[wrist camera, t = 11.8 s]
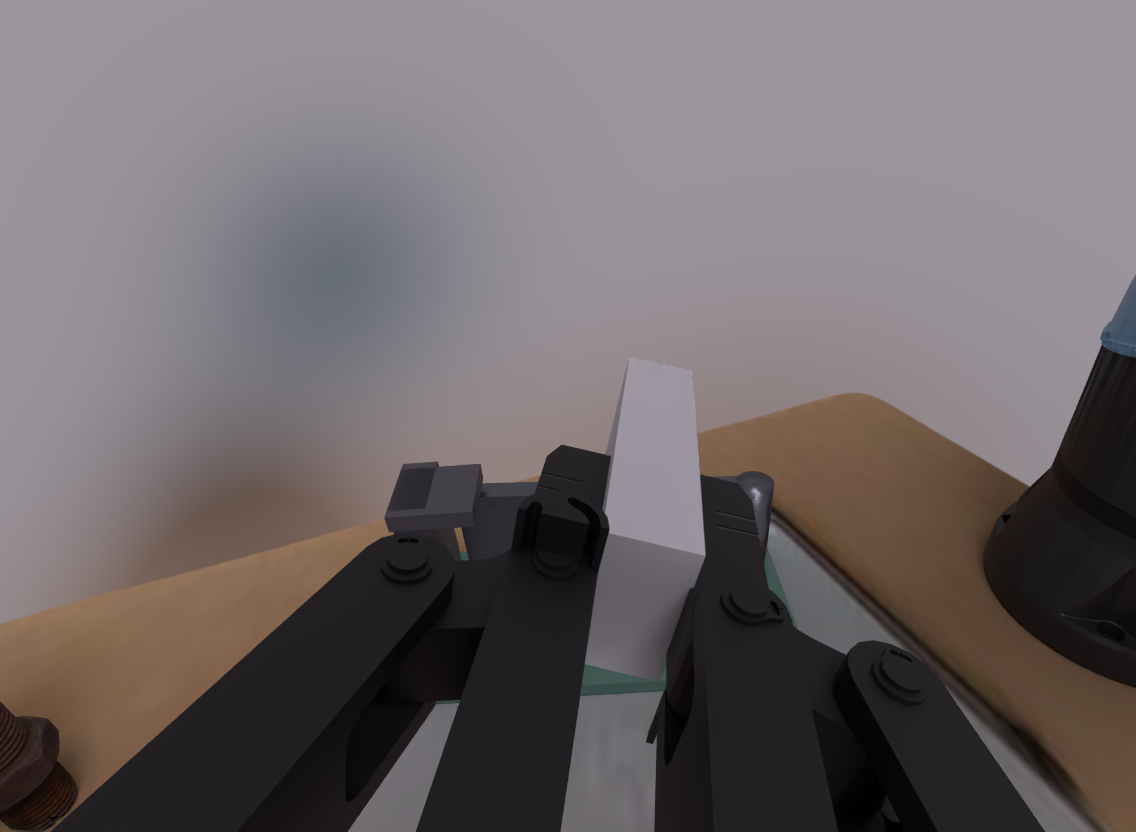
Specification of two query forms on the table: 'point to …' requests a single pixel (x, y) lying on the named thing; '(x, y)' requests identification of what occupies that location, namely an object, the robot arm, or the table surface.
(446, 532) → the dark grey capped post
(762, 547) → the dark grey rectangular panel
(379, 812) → the table surface
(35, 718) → the bolt
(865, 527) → the table surface
